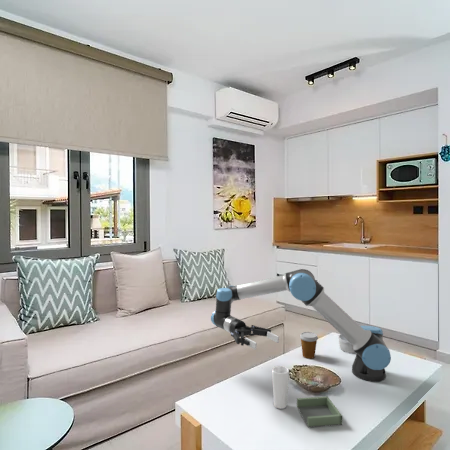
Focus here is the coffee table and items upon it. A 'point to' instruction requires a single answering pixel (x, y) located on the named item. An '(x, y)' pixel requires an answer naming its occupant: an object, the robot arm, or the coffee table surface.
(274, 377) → the drinking glass
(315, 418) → the tray
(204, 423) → the coffee table surface
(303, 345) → the disposable coffee cup
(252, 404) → the coffee table surface
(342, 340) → the ramekin
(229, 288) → the robot arm
